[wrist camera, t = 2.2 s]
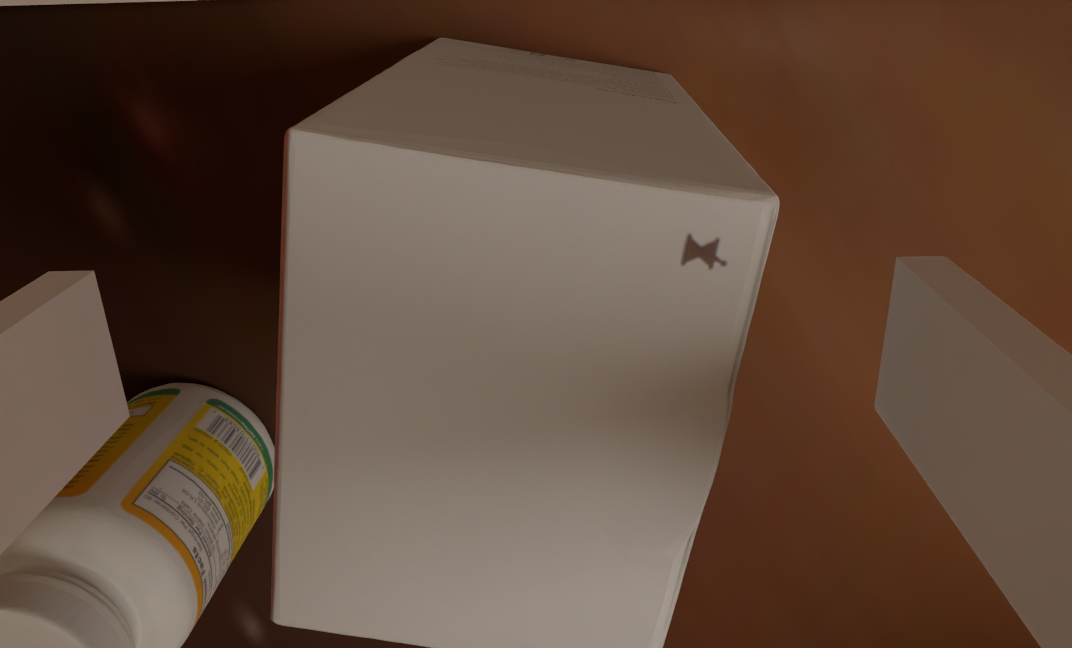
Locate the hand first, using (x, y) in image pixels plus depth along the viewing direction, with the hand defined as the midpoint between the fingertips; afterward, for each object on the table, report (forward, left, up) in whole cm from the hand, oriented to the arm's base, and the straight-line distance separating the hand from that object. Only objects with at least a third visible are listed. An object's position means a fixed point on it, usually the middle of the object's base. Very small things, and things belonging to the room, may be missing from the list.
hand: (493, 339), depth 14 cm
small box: (0, 0, -11) cm, 10 cm away
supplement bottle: (+11, +8, -10) cm, 17 cm away
